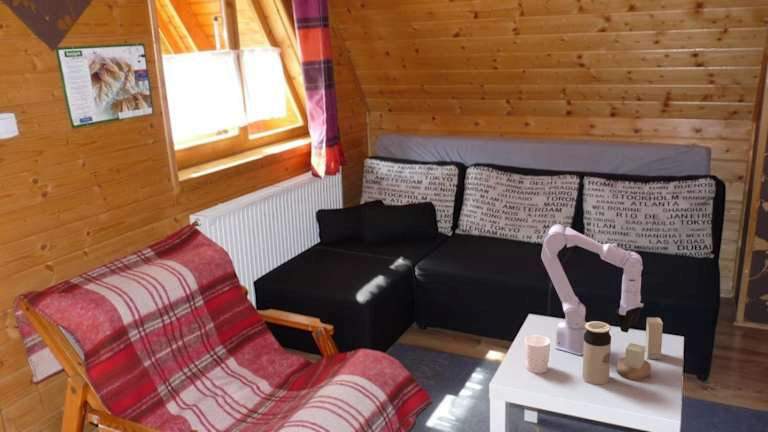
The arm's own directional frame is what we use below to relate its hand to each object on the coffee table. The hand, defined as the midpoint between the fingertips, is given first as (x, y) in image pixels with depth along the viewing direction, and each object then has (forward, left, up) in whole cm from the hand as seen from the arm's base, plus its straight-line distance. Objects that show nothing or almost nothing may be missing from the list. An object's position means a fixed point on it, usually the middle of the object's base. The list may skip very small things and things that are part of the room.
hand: (628, 327), depth 213 cm
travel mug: (-2, -21, -10) cm, 24 cm away
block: (+6, -11, -7) cm, 14 cm away
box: (+7, +4, -10) cm, 13 cm away
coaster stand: (+6, -11, -10) cm, 16 cm away
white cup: (-20, -26, -10) cm, 34 cm away
